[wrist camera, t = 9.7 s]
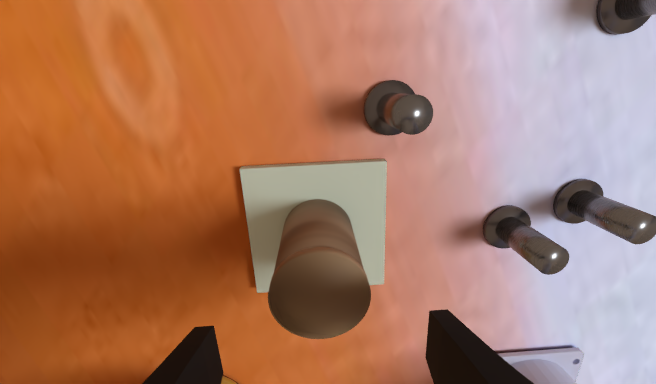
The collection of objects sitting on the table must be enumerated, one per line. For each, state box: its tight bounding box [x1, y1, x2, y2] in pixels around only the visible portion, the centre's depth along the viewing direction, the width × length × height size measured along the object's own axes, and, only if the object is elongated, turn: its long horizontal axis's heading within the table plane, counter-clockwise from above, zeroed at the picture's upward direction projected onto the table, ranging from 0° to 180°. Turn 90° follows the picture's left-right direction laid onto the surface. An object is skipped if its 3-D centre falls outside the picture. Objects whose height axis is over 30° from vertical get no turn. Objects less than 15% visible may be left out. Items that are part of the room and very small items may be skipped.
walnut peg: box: [268, 199, 371, 339], centre depth 15 cm, size 4×4×6 cm
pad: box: [240, 159, 387, 293], centre depth 18 cm, size 8×8×1 cm
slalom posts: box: [364, 0, 656, 275], centre depth 15 cm, size 15×14×4 cm
